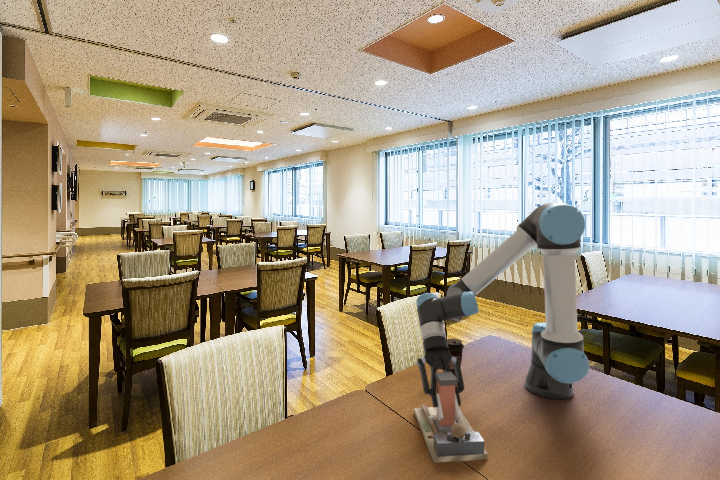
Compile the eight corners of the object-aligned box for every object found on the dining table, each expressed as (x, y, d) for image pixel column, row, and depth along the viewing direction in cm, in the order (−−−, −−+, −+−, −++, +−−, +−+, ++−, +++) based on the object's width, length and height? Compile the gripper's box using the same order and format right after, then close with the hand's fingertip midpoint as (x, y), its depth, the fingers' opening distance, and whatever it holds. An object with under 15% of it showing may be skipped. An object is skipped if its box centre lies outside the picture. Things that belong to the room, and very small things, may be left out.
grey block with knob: (478, 444, 100) (478, 427, 100) (483, 454, 96) (484, 436, 96) (433, 446, 99) (433, 429, 99) (437, 456, 95) (437, 439, 95)
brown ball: (462, 432, 99) (463, 419, 99) (467, 441, 96) (467, 427, 96) (449, 433, 99) (449, 420, 99) (453, 441, 96) (453, 428, 95)
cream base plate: (458, 410, 119) (458, 402, 119) (487, 459, 96) (487, 449, 96) (414, 412, 118) (414, 404, 118) (433, 462, 96) (433, 452, 95)
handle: (451, 417, 113) (452, 370, 111) (459, 431, 106) (460, 381, 104) (426, 418, 112) (426, 371, 111) (432, 433, 105) (432, 382, 104)
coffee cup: (464, 380, 139) (464, 346, 138) (441, 378, 141) (441, 344, 140) (462, 370, 148) (463, 337, 147) (440, 368, 150) (441, 336, 148)
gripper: (458, 343, 123) (476, 421, 108) (406, 345, 122) (417, 424, 107) (463, 333, 117) (483, 413, 102) (409, 335, 116) (421, 416, 101)
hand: (449, 418), depth 105 cm, fingers closed on handle, 4 cm apart
